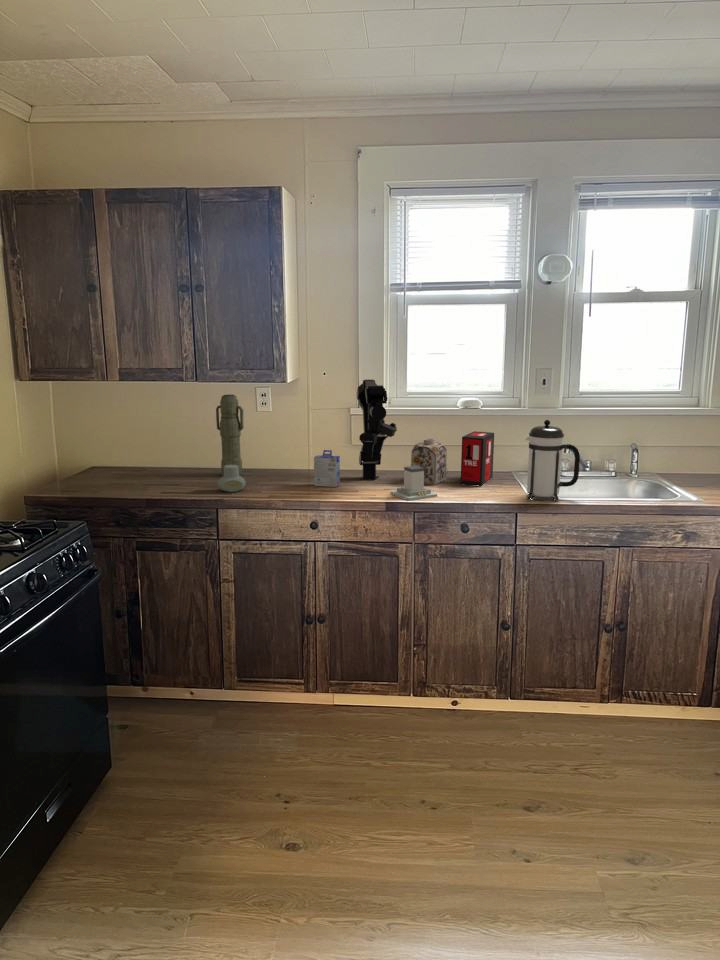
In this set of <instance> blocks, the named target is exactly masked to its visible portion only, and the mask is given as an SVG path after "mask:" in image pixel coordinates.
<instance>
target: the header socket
mask: <svg viewBox="0 0 720 960" xmlns="http://www.w3.org/2000/svg"><path fill="white" fill-rule="evenodd" d="M390 495H392V496H393V495H394V496H396V497H398V498H401V499H402V500H403V499H404V500H406V501H407V502H408V501H409V502H410V501H415V500H417V501H418V500H422V499H430V498H437V497H438V493H435V492H432V489H429V488H428V487H427V488H426V487H424V490H422V491H414V492H410V491H407V490H404V486H400V487H396V490H391V491H390Z"/></svg>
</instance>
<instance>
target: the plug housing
mask: <svg viewBox="0 0 720 960" xmlns="http://www.w3.org/2000/svg"><path fill="white" fill-rule="evenodd" d="M403 467H404V468H403V487H404V490H407V491H410V492H414V491H422V490H424V488H425V484H424V468H423V467H420V466H411V465H409V466H408V465H407V466H403Z"/></svg>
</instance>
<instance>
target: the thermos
mask: <svg viewBox="0 0 720 960" xmlns="http://www.w3.org/2000/svg"><path fill="white" fill-rule="evenodd" d="M219 409H220V410H219ZM220 415H221V416H220ZM215 418H216V419H215V421H216V430H218V431H219V436H220V437H221V462H220V467H221V477H223V476H224V466H226V465H238V466H239V476H241V477H242V475H243V471H242V470H243V461H242V457H241V434H242V432H241V431H243V429H244V428H245V427H244V409H243V407H242V406H241V405H239V400H238V397H237V395H235V394H222V396H221V398H220V403H219V405H217V406H216V408H215Z"/></svg>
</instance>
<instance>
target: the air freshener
mask: <svg viewBox="0 0 720 960" xmlns="http://www.w3.org/2000/svg"><path fill="white" fill-rule="evenodd" d="M246 484H247V481H246V479H245V478H244V477H242V475H241V476H239V466H238V465H226V466H224V476H221V477H220V478H219V479H218V482H217V486H218V488H219V489H220V490H221V491H224V492H225V493H226V492H227V493H237V492H239V491H241V490H242V489H244V488H245V487H246Z"/></svg>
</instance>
